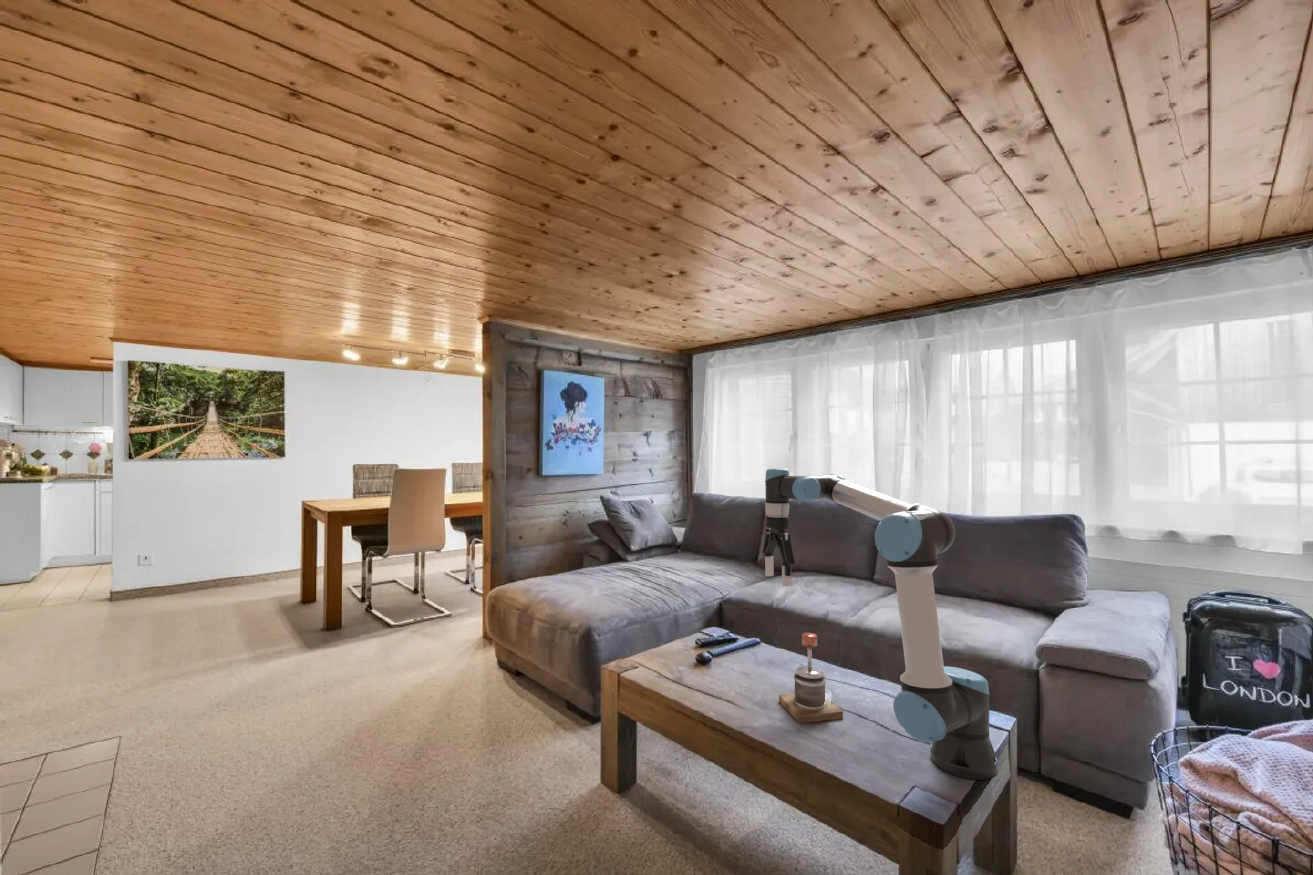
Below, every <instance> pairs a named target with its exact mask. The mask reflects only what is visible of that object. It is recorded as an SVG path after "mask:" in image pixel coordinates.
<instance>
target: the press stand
mask: <svg viewBox="0 0 1313 875" xmlns="http://www.w3.org/2000/svg"><path fill="white" fill-rule="evenodd" d="M793 678H794V693H783V694H779V695H778V702H779V703H780V704H781V705H782V706H783V707H784V708H785V709H786V711H788V713H789V714H790V715H791V716H792V717H793V718H794V719H795V720H796V722H798V723H799V724H801V723H811V722H819V721H829V720H837V719H844V711H843V710H842V709H841V708H839V706H837V704H835V703H834V702H833V701H832V700H831V703H830V706H829V707H828V708H824V706H825V705H824V702H825V696H826V683H827V681H826V680H827V679H826V676H825V675H824V674H823V677H822V678H820V679H806V678H803V677H800V676H798V675H797V673H796V672H795V673H794V674H793Z"/></svg>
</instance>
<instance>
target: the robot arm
mask: <svg viewBox="0 0 1313 875" xmlns="http://www.w3.org/2000/svg"><path fill="white" fill-rule="evenodd" d="M789 473H790V471H789V469H788V468H768V469H766V471H765V481H764V482H765V506H764V507H765V514H766V516H765V536H764V541H763V544H762V545H763V546H762V551H761V552H762V554H764V559H765V560H764V562H765V566H764V570H765V571H764V572H765V574H764V575H765V576H764V577H774V573H775V571H774V570H775V568H774V567H775V566H774V565H775V564H774V560H775V559H774V556H775V554H774V551H775V549H776V547H777V548H778V550H779V553H780V554H779V555H780V557H781V561H782V563H781V578H782V579H781V581H782V582H781V585H782V587H792V566H794V565H795V564H796V562H795V557H794V553H793V548H792V542H791V534H790V533H789V532H787V533H786V529H789V528H790V517H789V515H790V508H791V505H790V500H795V501H801V502H813V501H815V500H821V499H827V500H830V501H832V502H834V503H837V504H840V505H842V506H844V507H846V508H849V509H851V510H854V511H856V512H858V513H860V514H863V515H866V516H867V517H870V518H872V519H874V520H877V521H880V522H879V523H878V524H877V526H876V529H875V532H874V542H875V547H876V549H877V551H878V552H880V555H881V556H882V557H883V558H885V559H886V565H887V567H888V568H889V569H890V570H891V571H892V572H893V573H894V577H895V578H894V579H895V588H896V595H897V603H898V604H897V605H898V614H899V621H900V629H901V640H902V646H903V647H902V648H903V656H904V657H903V658H904V664H905V671H904V672H903V673H902V674H901V675H900V676H899V678H900V687H901V691H900V692H898V693H897V694H896V696H895V697H894V699H893V706H892V707H893V712H894V715H895V718H896V720H897V722H898V724H899V725H900V727H902V729H904V732H905V733H907V735H908V736H910V737H912V738H913V739H915V740H916V741H918V742H923V743H931V744H930V746H929V754H930V755H929V756H930V759H931V761H932V762H933V763H934V764H935V765H936V766H937V767H938V768H940V769H941V770H943V771H945V772H946V773H949V774H951V775H953V776H956V777H960V778H963V779H967V780H973V781H975V780H976V781H986V780H992V779H994V778H995V777H997V775H998V773H999V763H998V762H999V761H998V759H997V756H996V754H995V753H996V752H995V749H994V748H993V744H992V741H991V739H990V695H991V694H990V691H989V690H990V688H989V682H988V680H987V679H986V678H985V677H984V676H983V675H981V674H979V673H977V672H974V671H971V670H969V669H965V668H961V667H955V666H947V665H946V666H945V665H944V657H943V650H942V642H941V633H940V626H939V618H938V609H937V600H936V592H935V583H934V575H933V573H934V571H935V570H936V569H937V568H938V566H939V564H938V563H939V561H938V555H940V554H942V553H944V552H946V551H947V550H949V548H951V546H952V545H953V543H954V541H955V538H956V529H955V525H954V523H953V521H952V520H951V518H950V517H949V516H948V515H947V514H945V513H944V512H942V511H940V510H939V509H938V510H937V509H935V508H934V507H929V506H926V505H924V504H921V503H913V504H910V503H908V502H905V501H902V500H899V499H897V498H895V497H894V498H893V497H892V496H888V495H887V494H883V493H881V492H879V491H875V490H872V489H870V488H867V487H864V486H861V485H858V484H856V483H854V482H853V483H852V482H850V481H848V480H847V479H846V478H845V476H843V475H841V474H834V473H829V474H817V475H790V474H789Z"/></svg>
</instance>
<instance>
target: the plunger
mask: <svg viewBox="0 0 1313 875" xmlns="http://www.w3.org/2000/svg"><path fill="white" fill-rule="evenodd" d="M801 645H802V646H803V647H805V648H807V665H801V666H799V667H797V668H795V670H796V671H795V673H797V675H798V676H800V677H803V678H806V679H820V678H822V677H823V675H824V671H823V670H822V669H821V668H819V667H816V666H814V665H813V658H812V657H813V655H812V653H813V652H812V650H813V649H812V648H817V647H818V634H816V633H813V632H803V633H802V634H801Z"/></svg>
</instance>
